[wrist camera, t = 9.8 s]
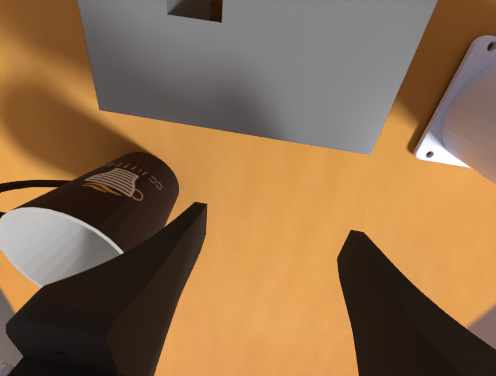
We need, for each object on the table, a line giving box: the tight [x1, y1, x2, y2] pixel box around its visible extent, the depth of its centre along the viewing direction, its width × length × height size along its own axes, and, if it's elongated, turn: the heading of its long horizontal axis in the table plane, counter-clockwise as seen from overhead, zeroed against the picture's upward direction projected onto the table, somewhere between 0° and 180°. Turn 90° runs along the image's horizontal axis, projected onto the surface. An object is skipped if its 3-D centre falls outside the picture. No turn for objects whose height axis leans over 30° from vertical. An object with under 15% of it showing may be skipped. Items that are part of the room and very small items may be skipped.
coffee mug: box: [0, 152, 179, 288], centre depth 18 cm, size 12×9×10 cm
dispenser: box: [77, 0, 438, 155], centre depth 13 cm, size 14×9×7 cm, turn 83°
